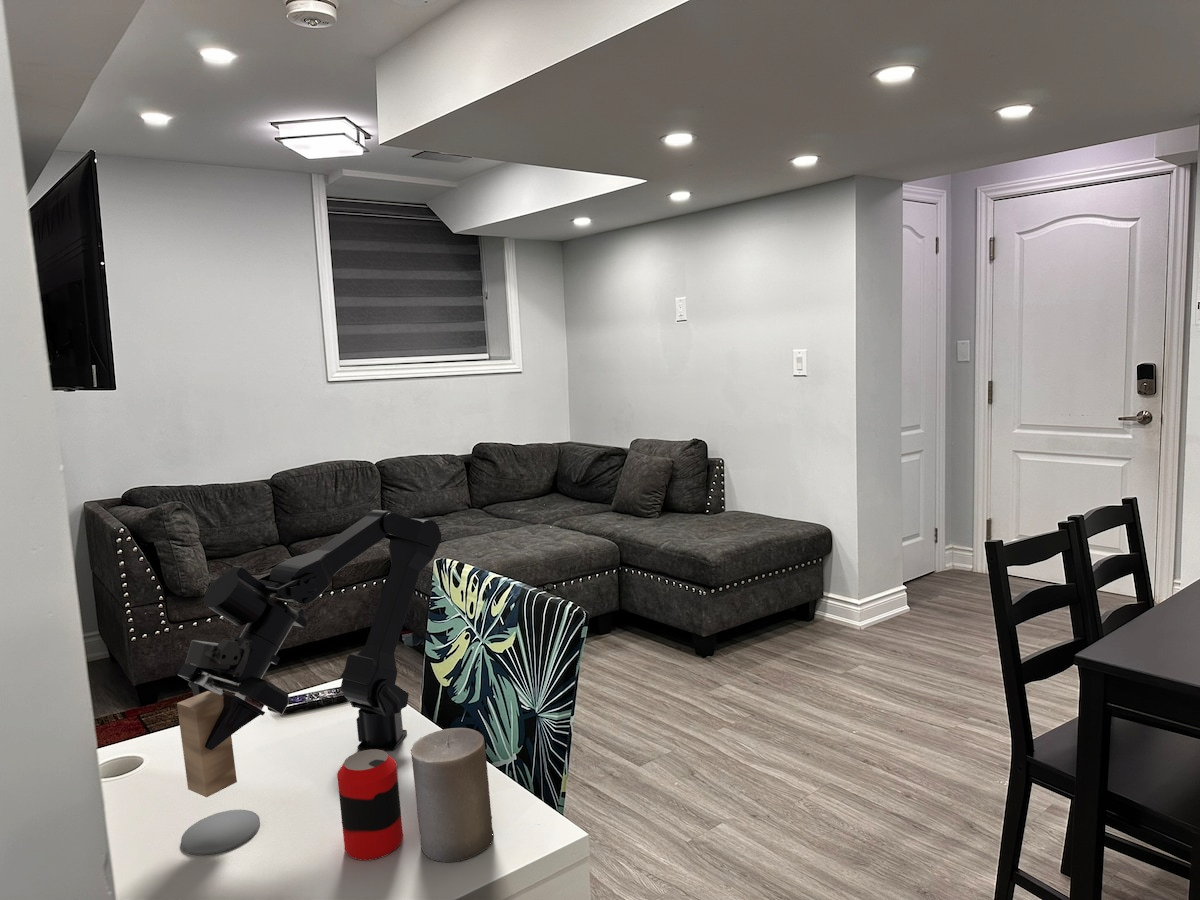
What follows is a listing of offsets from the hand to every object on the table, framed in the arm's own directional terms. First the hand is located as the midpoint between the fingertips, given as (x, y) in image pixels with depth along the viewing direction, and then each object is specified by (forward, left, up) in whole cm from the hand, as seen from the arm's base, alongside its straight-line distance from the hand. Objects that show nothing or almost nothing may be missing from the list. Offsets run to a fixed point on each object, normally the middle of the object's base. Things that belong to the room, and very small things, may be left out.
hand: (197, 744), depth 115 cm
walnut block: (-1, -1, -7) cm, 7 cm away
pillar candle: (-35, 0, -14) cm, 38 cm away
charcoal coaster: (-1, -1, -13) cm, 14 cm away
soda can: (-24, +1, -14) cm, 28 cm away
